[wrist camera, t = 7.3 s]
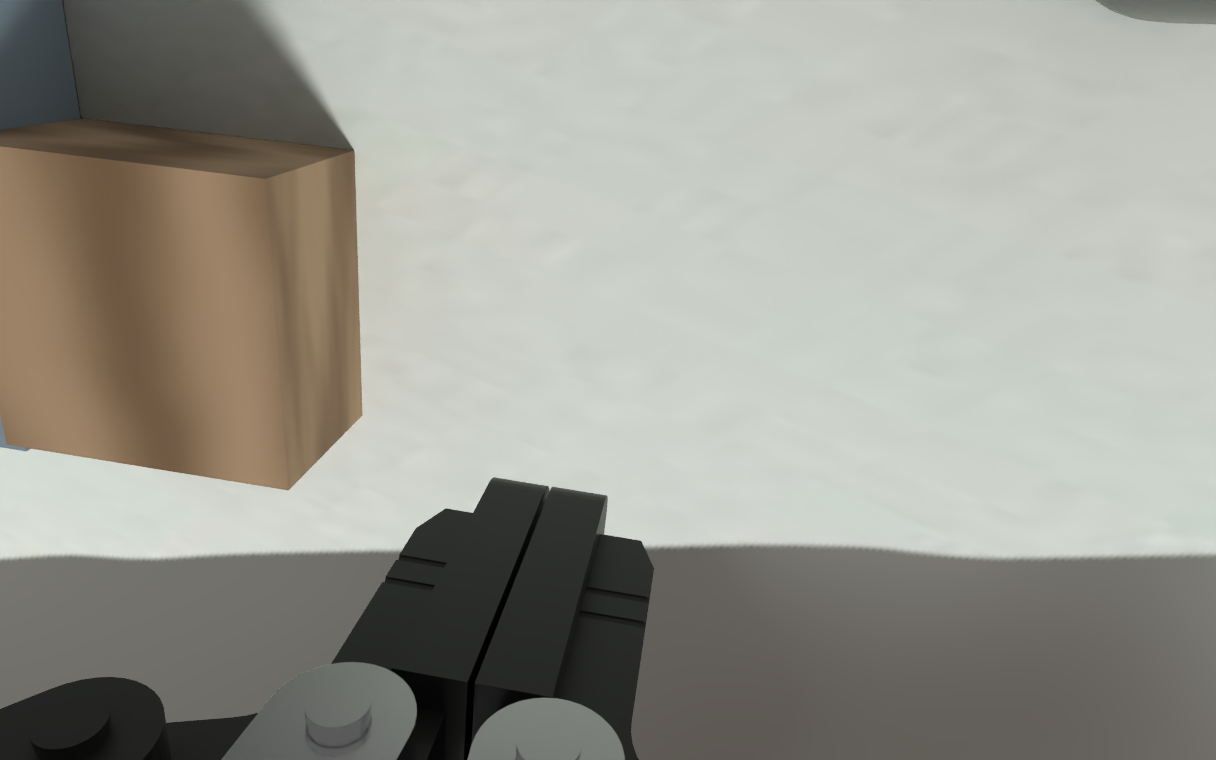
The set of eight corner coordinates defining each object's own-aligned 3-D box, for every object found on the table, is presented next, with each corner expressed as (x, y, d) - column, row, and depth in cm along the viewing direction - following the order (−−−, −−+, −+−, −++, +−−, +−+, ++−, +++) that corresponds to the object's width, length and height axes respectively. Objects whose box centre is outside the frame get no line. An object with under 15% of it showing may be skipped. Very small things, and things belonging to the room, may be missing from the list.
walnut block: (126, 376, 34) (6, 444, 28) (87, 117, 30) (-62, 138, 24) (364, 412, 33) (288, 490, 27) (357, 149, 29) (265, 179, 23)
